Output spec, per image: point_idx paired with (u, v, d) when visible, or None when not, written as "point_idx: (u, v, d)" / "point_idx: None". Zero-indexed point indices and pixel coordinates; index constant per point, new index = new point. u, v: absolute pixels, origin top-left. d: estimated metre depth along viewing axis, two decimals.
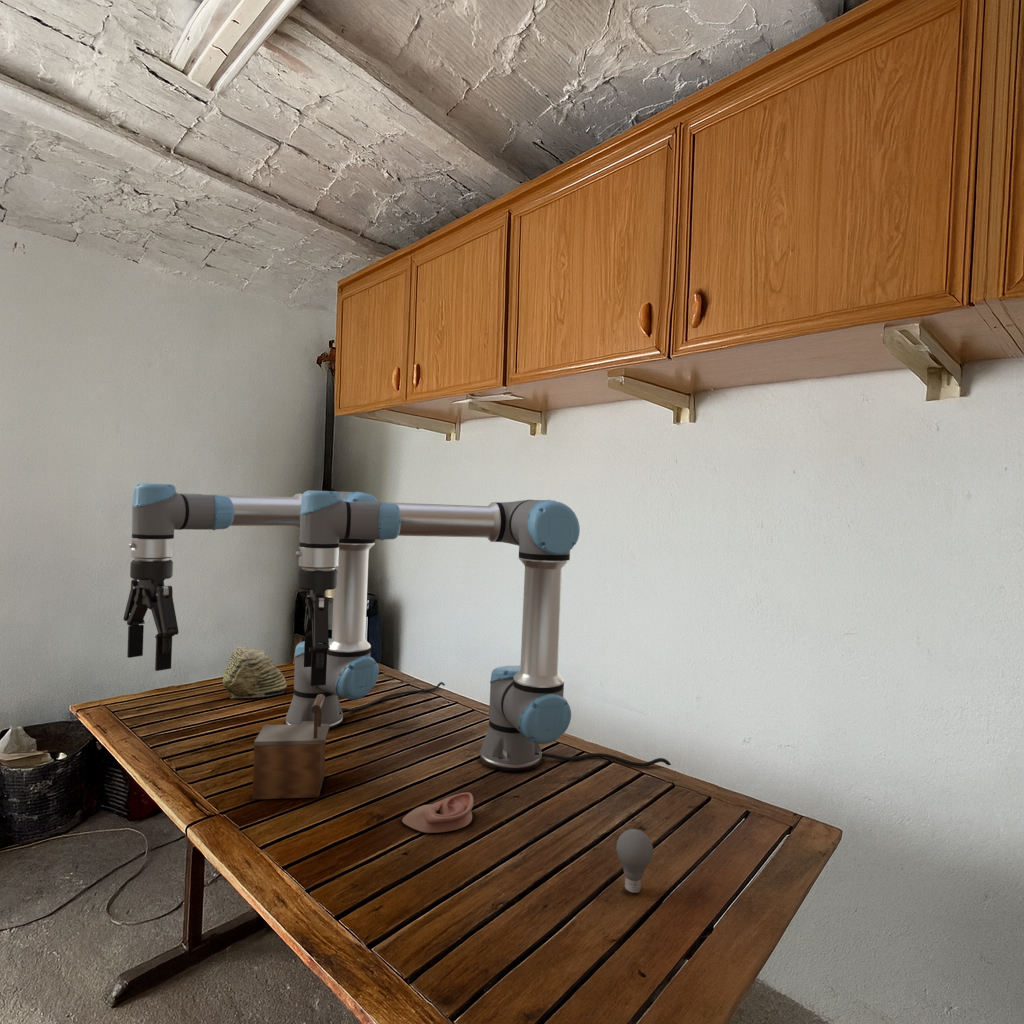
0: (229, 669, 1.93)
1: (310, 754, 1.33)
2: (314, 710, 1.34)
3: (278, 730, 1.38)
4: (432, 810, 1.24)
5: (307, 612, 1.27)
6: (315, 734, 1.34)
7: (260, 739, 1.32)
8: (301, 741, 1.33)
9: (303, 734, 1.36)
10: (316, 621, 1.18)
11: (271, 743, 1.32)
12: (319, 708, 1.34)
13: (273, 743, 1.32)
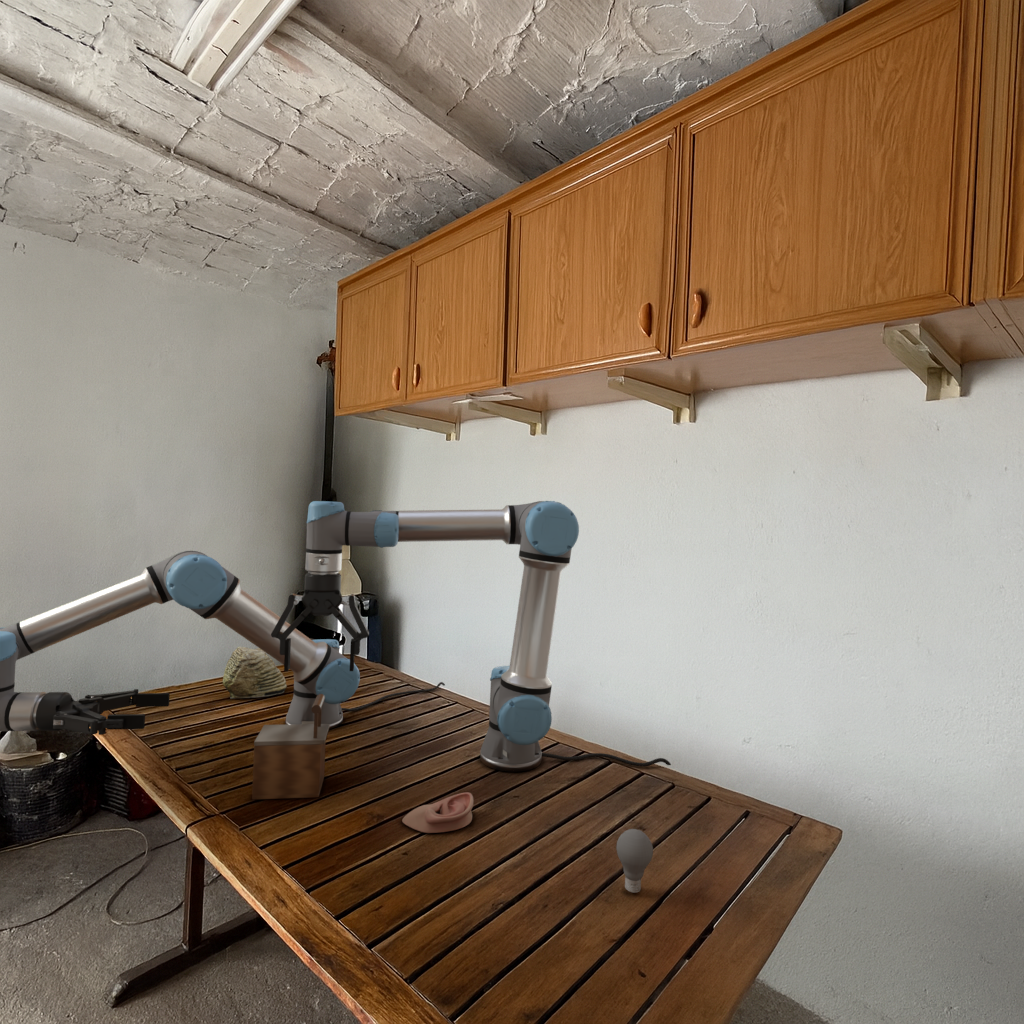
0: (229, 669, 1.93)
1: (310, 754, 1.33)
2: (314, 710, 1.34)
3: (278, 730, 1.38)
4: (432, 810, 1.24)
5: None
6: (315, 734, 1.34)
7: (260, 739, 1.32)
8: (301, 741, 1.33)
9: (303, 734, 1.36)
10: (359, 614, 1.38)
11: (271, 743, 1.32)
12: (319, 708, 1.34)
13: (273, 743, 1.32)
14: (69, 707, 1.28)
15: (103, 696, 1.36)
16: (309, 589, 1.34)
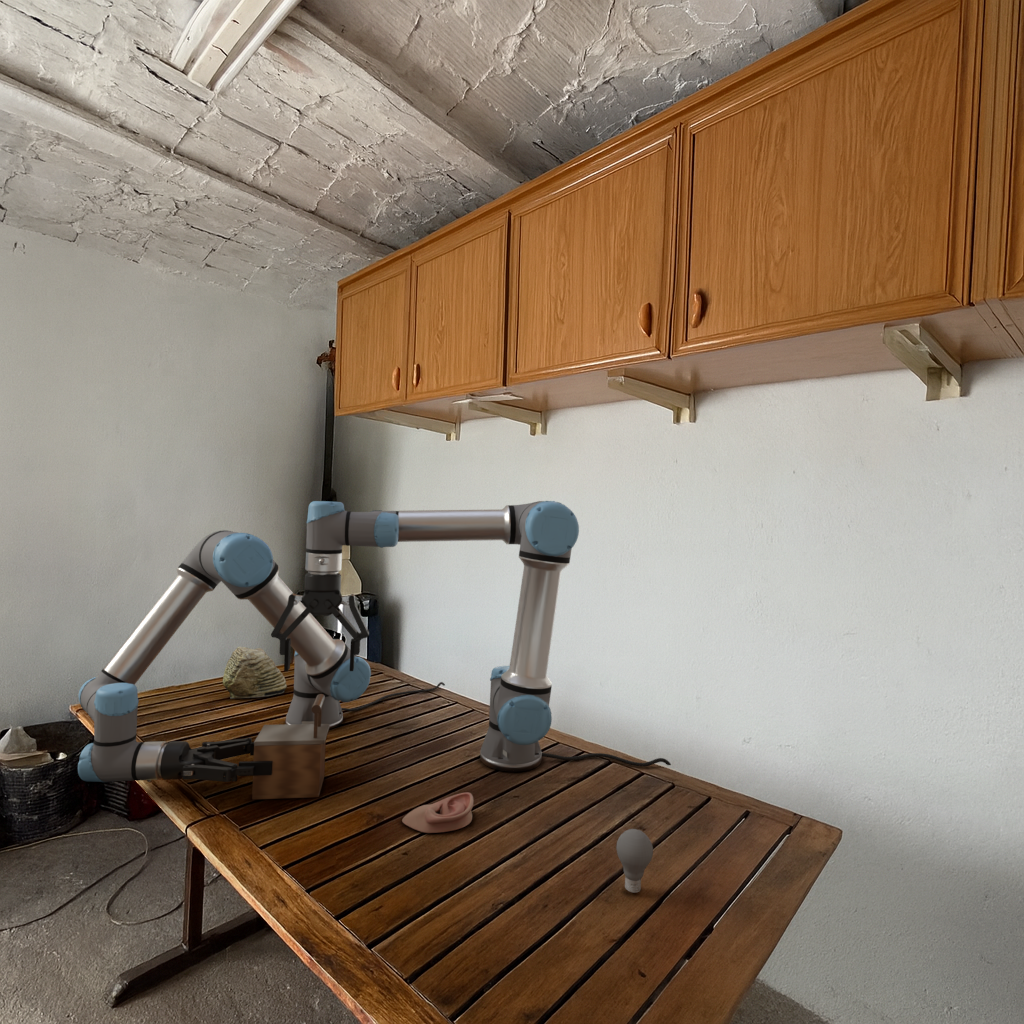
0: (229, 669, 1.93)
1: (310, 754, 1.33)
2: (314, 710, 1.34)
3: (278, 730, 1.38)
4: (432, 810, 1.24)
5: None
6: (315, 734, 1.34)
7: (260, 739, 1.32)
8: (301, 741, 1.33)
9: (303, 734, 1.36)
10: (359, 614, 1.38)
11: (271, 743, 1.32)
12: (319, 708, 1.34)
13: (273, 743, 1.32)
14: (190, 757, 1.32)
15: (218, 744, 1.40)
16: (309, 589, 1.34)
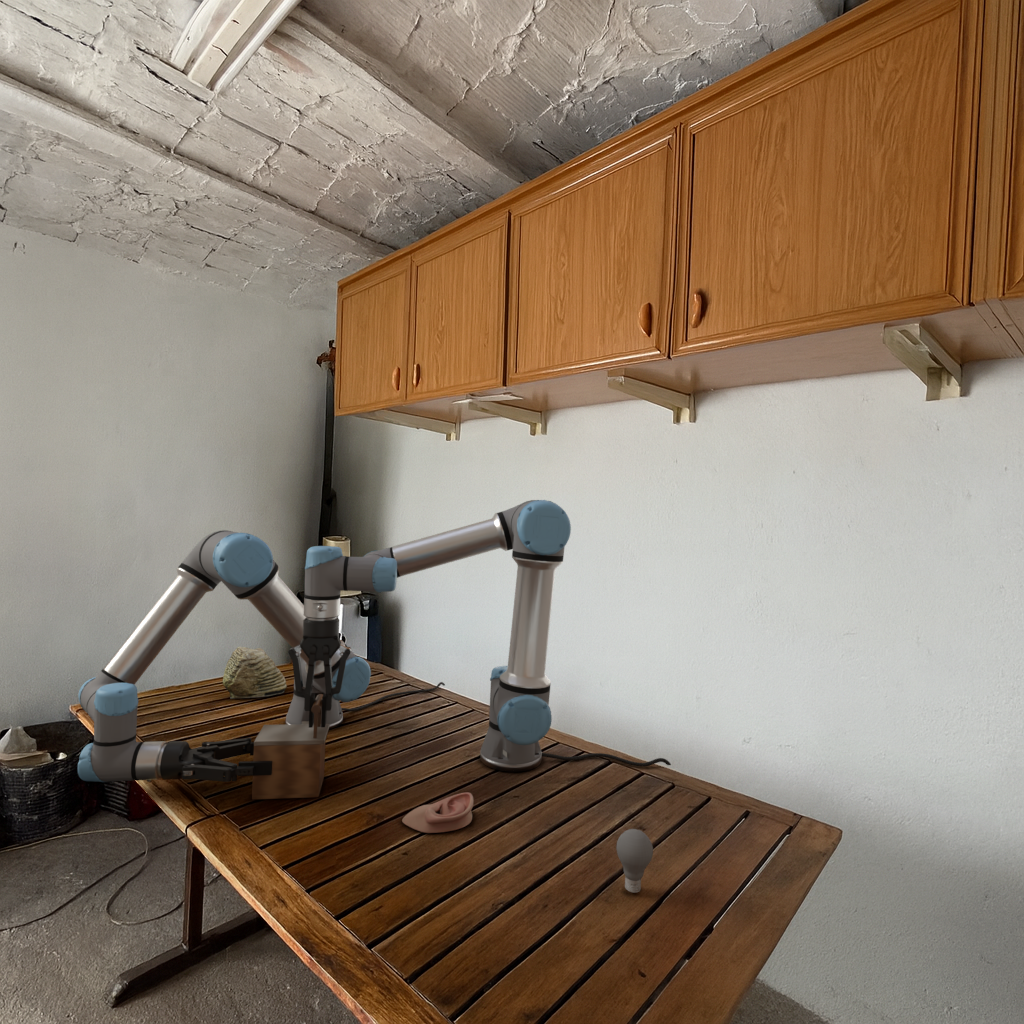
0: (229, 669, 1.93)
1: (310, 754, 1.33)
2: (314, 710, 1.34)
3: (278, 730, 1.38)
4: (432, 810, 1.24)
5: (314, 663, 1.36)
6: (315, 734, 1.34)
7: (260, 739, 1.32)
8: (300, 741, 1.33)
9: (303, 734, 1.36)
10: (344, 669, 1.38)
11: (271, 743, 1.32)
12: (319, 708, 1.34)
13: (273, 743, 1.32)
14: (190, 757, 1.32)
15: (218, 744, 1.40)
16: (307, 635, 1.34)
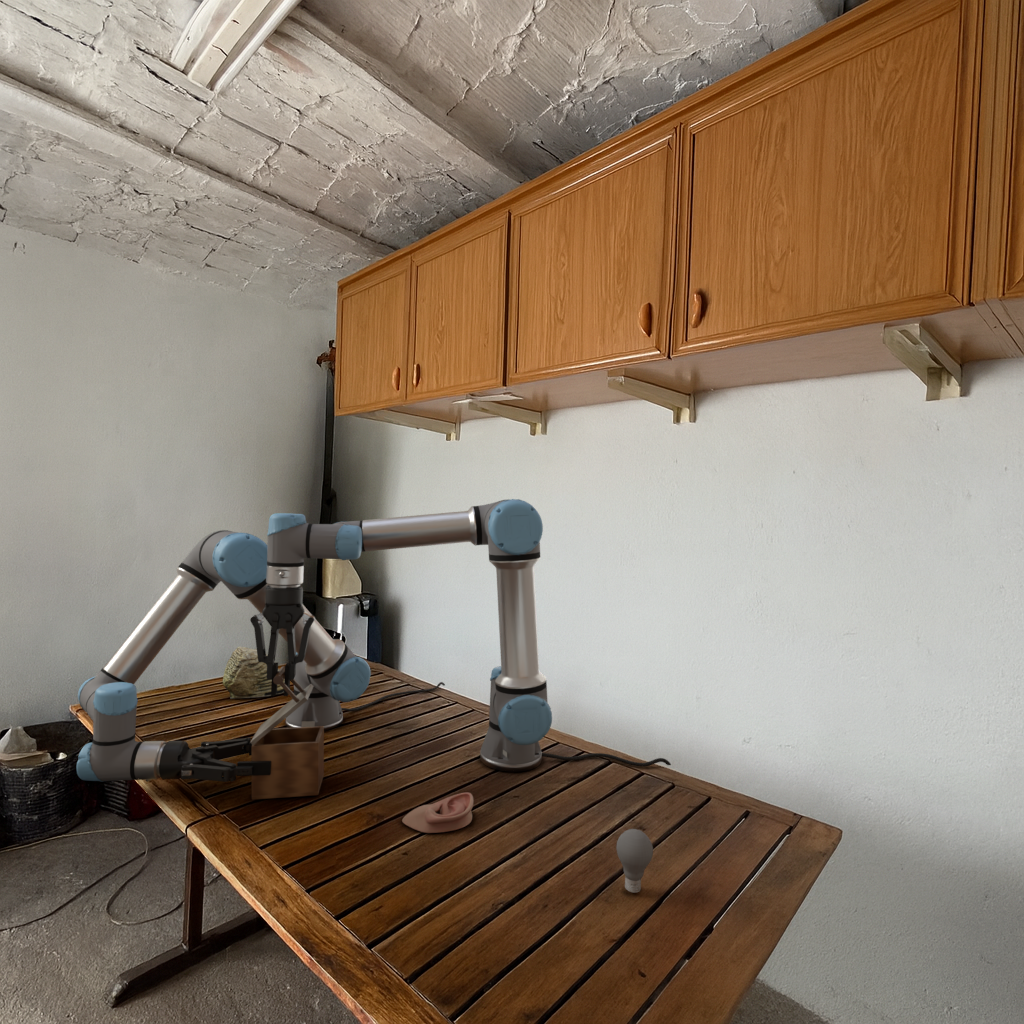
0: (229, 669, 1.93)
1: (308, 752, 1.33)
2: (277, 682, 1.32)
3: (270, 720, 1.37)
4: (432, 810, 1.24)
5: (276, 631, 1.34)
6: (295, 698, 1.33)
7: (255, 737, 1.32)
8: (286, 712, 1.32)
9: (289, 706, 1.35)
10: (307, 638, 1.36)
11: (264, 732, 1.31)
12: (279, 677, 1.32)
13: (266, 731, 1.31)
14: (189, 756, 1.32)
15: (217, 744, 1.40)
16: (269, 602, 1.33)
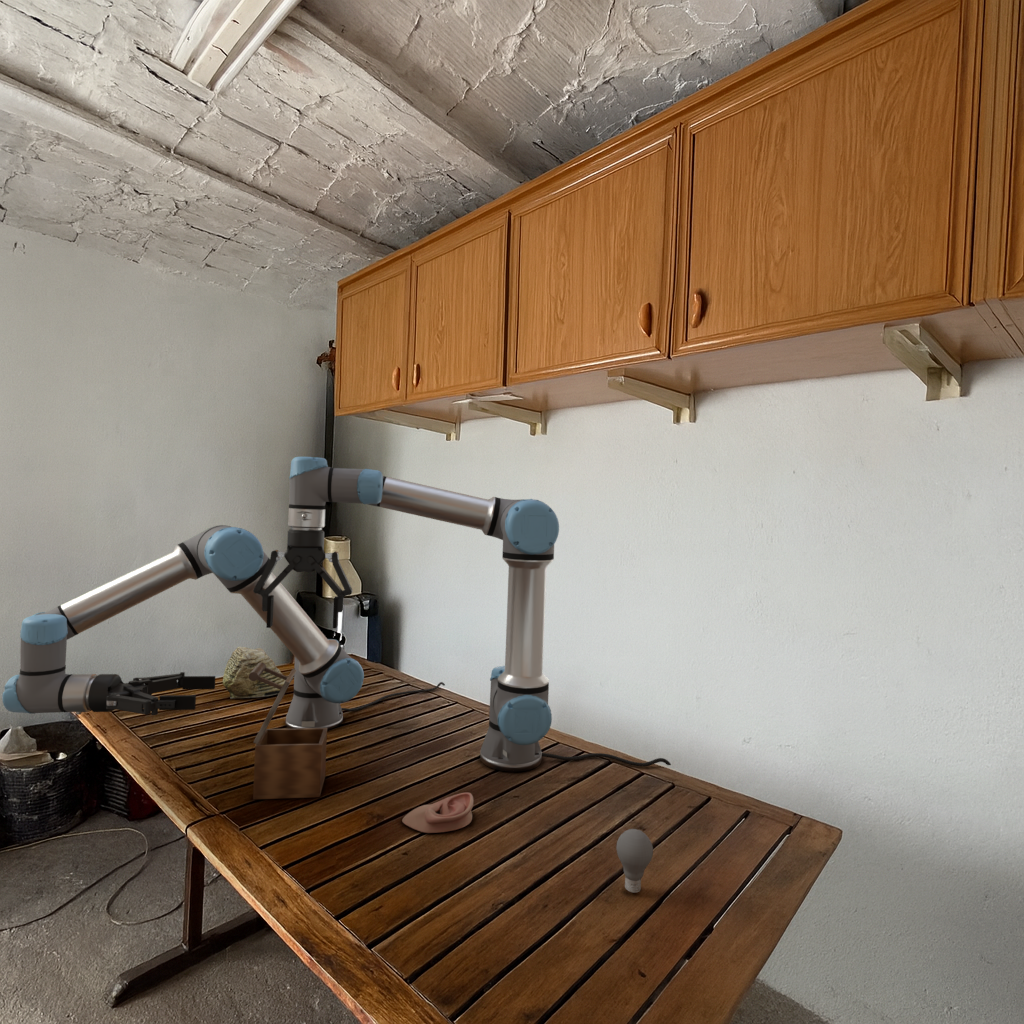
0: (229, 669, 1.93)
1: (311, 754, 1.33)
2: (253, 678, 1.32)
3: None
4: (432, 810, 1.24)
5: (289, 571, 1.35)
6: (278, 686, 1.33)
7: (256, 736, 1.32)
8: (274, 702, 1.31)
9: None
10: (342, 571, 1.37)
11: (263, 728, 1.31)
12: (254, 673, 1.32)
13: (264, 726, 1.31)
14: (120, 689, 1.30)
15: (151, 679, 1.38)
16: (291, 545, 1.33)
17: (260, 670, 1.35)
